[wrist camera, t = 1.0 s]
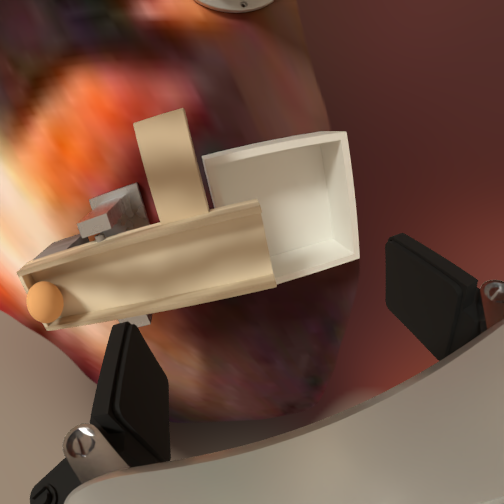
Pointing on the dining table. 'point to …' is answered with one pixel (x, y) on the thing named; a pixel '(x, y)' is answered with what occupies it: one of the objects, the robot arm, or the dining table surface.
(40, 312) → the ball
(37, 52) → the dining table surface
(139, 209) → the lever stand
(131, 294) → the lever
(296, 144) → the bin
